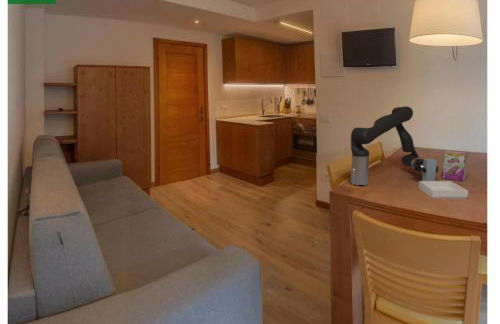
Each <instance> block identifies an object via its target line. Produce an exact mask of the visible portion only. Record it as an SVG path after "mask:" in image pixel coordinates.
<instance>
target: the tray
mask: <svg viewBox="0 0 500 324" xmlns="http://www.w3.org/2000/svg"><path fill="white" fill-rule="evenodd" d="M418 189H419V190H420V191H422V192H423V193H424V194H425V195H427V196H428V197H430V198H431V199H446V200H447V199H450V200H451V199H453V200H454V199H456V200H458V199H459V200H460V199H461V200H463V199H464V200H466V199H469V198H468V196H469V190H468V189H465V188H464V187H462V186H460V185H458V183H455V182H453V181H452V180H435V181H422V180H419V181H418Z"/></svg>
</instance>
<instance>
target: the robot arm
mask: <svg viewBox="0 0 500 324" xmlns="http://www.w3.org/2000/svg"><path fill="white" fill-rule="evenodd" d="M413 116H414V111H413V108H411V107H410V106H405V105H404V106H398V107H393V109H392V111H391V114H390V113H389V114H387V115H383V116H381V117H378V118H377V119H376V120H375V121H374V123H373V125H372V126H371V127H354V128H352V131H351V134H350V151H351V153H352V154H351V167H350V184H351V183H352V184H357V185H366V186H368V185H369V167H370V166H369V162H370V161H369V160H370V151H369V150H368V149H367V148H365V147H364V146H363V145H369V144H370V143H372V142H374V141H375V140H376V139H377V138H378V137H380V136H382V135H383V134H385V133H387V132H389V131H390V130H392V129H394V128H395V129H396V132H397V133H398V137H399V140H400V145H401V149H402V151H403V152H404V153H409V154H405V155H403V156H401V159H400V160H401V163H402V165H404V166H405V167H411V169H412V171H416V172H419V173H423V172H424V173H426V172H427V169H425V168H423V161H424V159H425V158H421V157H420V155H419V154H418V152H417V150H416V149H415V146H414V140H413V137H412V135H411V133H409V131H408V130H407V129H406V128H405V127H404V125H403V123H405V122H408V121H410V120H411V119H412V118H413ZM438 172H439V165H438V164H437V165H436V174H437V173H438ZM352 184H351V185H352ZM367 184H368V185H367Z"/></svg>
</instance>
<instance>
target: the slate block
mask: <svg viewBox="0 0 500 324" xmlns="http://www.w3.org/2000/svg"><path fill="white" fill-rule="evenodd" d="M423 159H424V161H423V168H425V169H427V172H426V173H424V172H421V173H422V174H421V176H422V177H421V181H436V174H437V173H436V165H437V166H438V164H437V162H438V161H437V159H435V158H423Z"/></svg>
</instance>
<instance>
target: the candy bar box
mask: <svg viewBox="0 0 500 324" xmlns="http://www.w3.org/2000/svg"><path fill="white" fill-rule="evenodd" d="M468 157H469V153H468V152H459V151H449V150H447V151H444V152H443V162H442V170H441V171H442V172H441V179H444V180H448V181H457V182H464V181H465V180H466V175H467V167H468V166H467V165H468Z"/></svg>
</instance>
